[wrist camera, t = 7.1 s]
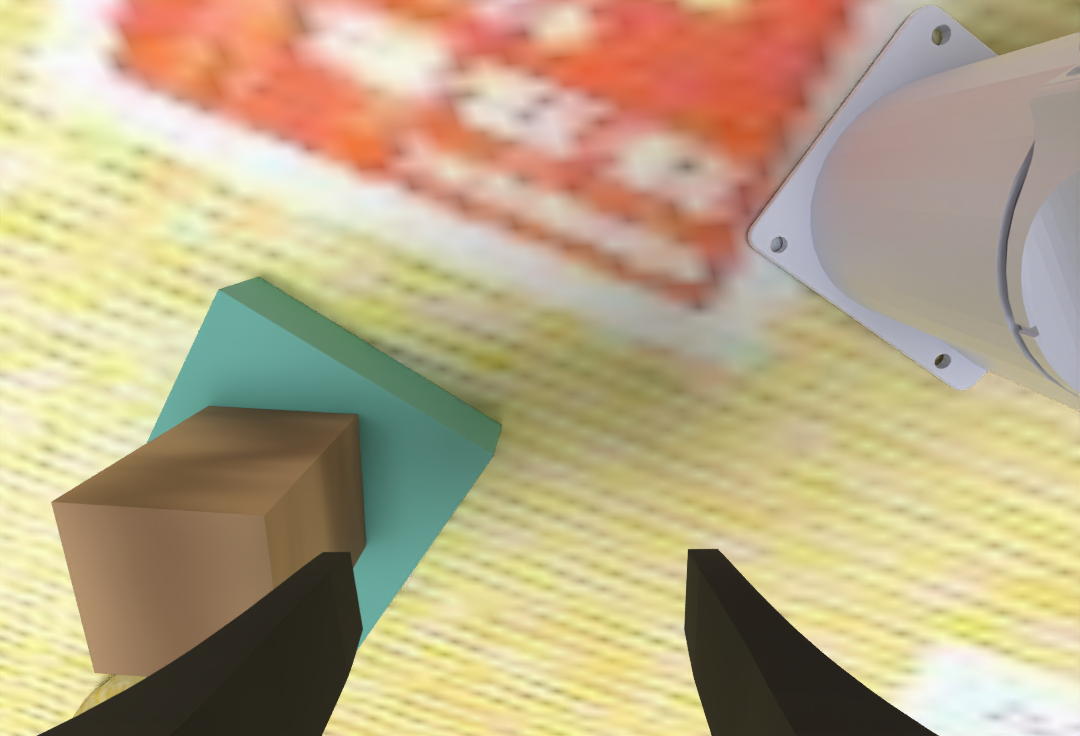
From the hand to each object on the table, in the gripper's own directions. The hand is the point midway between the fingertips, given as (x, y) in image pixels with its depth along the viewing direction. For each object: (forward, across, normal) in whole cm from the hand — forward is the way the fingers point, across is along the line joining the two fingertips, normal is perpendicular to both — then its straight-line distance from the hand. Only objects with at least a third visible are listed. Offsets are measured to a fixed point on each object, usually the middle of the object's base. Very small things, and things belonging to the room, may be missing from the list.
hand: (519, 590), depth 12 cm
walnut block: (+7, +8, +1) cm, 11 cm away
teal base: (+10, +8, +2) cm, 13 cm away
